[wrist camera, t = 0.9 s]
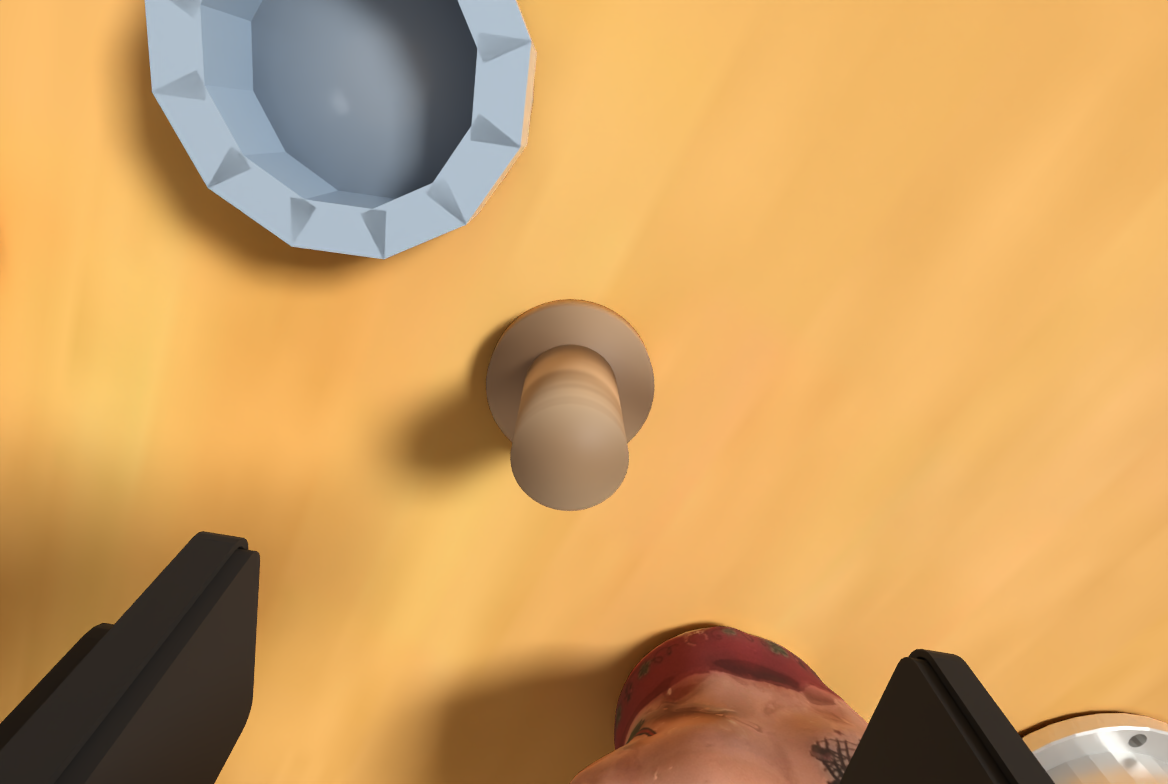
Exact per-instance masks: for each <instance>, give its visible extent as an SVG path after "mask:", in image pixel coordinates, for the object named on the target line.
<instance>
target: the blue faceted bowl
mask: <svg viewBox="0 0 1168 784" xmlns="http://www.w3.org/2000/svg"><path fill="white" fill-rule="evenodd" d="M145 10H146V22H147V35H148V48H149V60H150V73H151V85H152V93H153V95H154V96H155V98H156V100H157V102H158V103H159V105H160V107H161V108H162V110H163V112H164V114H165V115H166V117H167V119H168V120H169V122H170V124H171V126H172V127H173V129H174V131H175V132H176V134H177V136H178V138H179V139H180V141H181V143H182V144H183V146H184V148H185V150H186V151H187V153H188V155H189V156H190V158H191V160H192V162H193V163H194V165H195V167H196V169H197V170H198V172H199V174H200V175H201V177H202V179H203V181H204V182H205V184H206V186H207V188H209V189H210V190H212V191H213V192H214V193H216V194H217V195H219V196H220V197H222V198H223V199H224V200H226V201H227V202H229V203H230V204H232V205H233V206H234V207H236V208H237V209H239V210H240V211H242V212H243V213H244V214H246V215H247V216H249V217H250V218H252V219H253V220H254V221H256V222H257V223H259V224H260V225H262V226H263V227H264V228H266V229H267V230H269V231H270V232H272V233H273V234H274V235H276V236H277V237H279V238H280V239H282V240H283V241H284V242H286V243H287V244H289V245H290V246H291V247H299V248H306V249H313V250H320V251H328V252H335V253H342V254H350V255H357V256H364V257H371V258H379V259H386V258H388V257H390V256H393V255H395V254H397V253H400V252H402V251H405V250H407V249H409V248H412V247H414V246H416V245H419V244H421V243H423V242H426V241H428V240H431V239H433V238H435V237H438V236H440V235H442V234H445V233H447V232H450V231H452V230H454V229H457V228H459V227H461V226H464V225H466V224H467V223H469V222H470V221H471V220H472V219H473V218H474V217H475V216H476V215H478V214H479V213H480V211H481V210H482V208H483V207H484V205H485V204H486V203H487V201H488V200H489V198H490V197H491V196H492V194H493V193H494V191H495V190H496V189H497V187H498V186H499V185H500V184H501V182H502V181H503V180H504V179H505V177H506V176H507V174H508V172H509V171H510V169H511V167H512V166H513V165H514V163H515V162H516V160H517V159H518V157H519V156H520V155H521V153H522V152H523V150H524V149H525V148H526V146H527V143H528V134H529V124H530V118H531V112H532V106H533V98H534V77H535V67H536V58H537V51H536V49H535V46H534V44H533V41H532V39H531V36H530V33H529V31H528V28H527V26H526V23H525V20H524V18H523V15H522V12H521V10H520V7H519V5H518V2H517V0H145Z"/></svg>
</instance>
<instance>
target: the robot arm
mask: <svg viewBox="0 0 1168 784" xmlns="http://www.w3.org/2000/svg"><path fill="white" fill-rule="evenodd" d="M259 570H260V555H259V553H258V552H257V551H251V550H248V543H247V540H246V539H244V538H240V537H234V536H228V535H222V534H216V533H210V532H204V531H203V532H199V533H198V534H196V535H195V536H194V537H193V538H192V539H191V540H190V541H189V542H188V544H187V545H186V546H185V547H184V548H183V549H182V550H181V551H180V552H179V554H178V555H177V556H176V557H175V558H174V559H173V560H172V561H171V562H170V564H169V565H168V566H167V567H166V568H165V569H164V570H163V571H162V572H161V573H160V575H159V576H158V577H157V578H156V579H155V580H154V581H153V582H152V583H151V585H150V586H149V587H148V588H147V589H146V590H145V591H144V592H143V593H142V595H141V596H140V597H139V598H138V599H137V600H136V601H135V602H134V603H133V605H132V606H131V607H130V608H129V609H128V610H127V611H126V612H125V613H124V614H123V616H122V617H121V618H120V619H119V620H118V621H117V622H116V623H115V624H107V623H102V624H100V625H97V626H95V627H93V628H92V629H91V630H90V631H89V632H87V633H86V634H85V635H84V636H83V637H82V638H81V639H80V640H79V641H78V642H77V643H76V644H75V645H74V646H73V647H72V648H71V649H70V651H69V652H68V653H67V654H66V655H65V656H64V657H63V658H62V659H61V660H60V661H59V662H58V663H57V664H56V665H55V666H54V667H53V669H52V670H51V671H50V672H49V673H48V674H47V675H46V676H45V677H44V678H43V679H42V680H41V681H40V682H39V683H38V684H37V686H36V687H35V688H34V689H33V690H32V691H31V692H30V693H29V694H28V695H27V696H26V697H25V698H24V699H23V700H22V701H21V702H20V704H19V705H18V706H17V707H16V708H15V709H14V710H13V711H12V712H11V713H10V714H9V715H8V716H7V717H6V718H5V719H4V720H3V722H2V723H1V724H0V784H214V783H215V781H216V779H217V777H218V776H219V774H220V772H221V770H222V768H223V766H224V764H225V762H226V761H227V759H228V757H229V755H230V753H231V751H232V749H233V747H234V746H235V744H236V742H237V740H238V738H239V736H240V734H241V732H242V731H243V729H244V726H245V724H246V722H247V719H248V717H249V713H250V710H251V706H252V700H253V685H254V666H255V646H256V627H257V608H258V589H259ZM840 784H1168V724H1167V723H1165V722H1162V721H1159V720H1156V719H1153V718H1150V717H1147V716H1141V715H1134V714H1127V713H1099V714H1092V715H1086V716H1079V717H1074V718H1070V719H1067V720H1063V721H1060V722H1057V723H1053V724H1050V725H1048V726H1046V727H1043V728H1041V729H1039V730H1036V731H1034V732H1032V733H1029V734H1028V735H1026V736H1024V737H1023V738H1021V737H1020V735H1019V734H1018V733H1017V731H1016V730H1015V729H1014V727H1013V726H1012V725H1011V723H1010V722H1009V720H1008V719H1007V718H1006V716H1005V715H1004V714H1003V712H1002V711H1001V710H1000V708H999V707H998V706H997V704H996V703H995V701H994V700H993V699H992V697H991V696H990V695H989V693H988V692H987V691H986V689H985V688H984V687H983V685H982V684H981V683H980V681H979V680H978V678H977V677H976V676H975V674H974V673H973V672H972V670H971V669H970V668H969V666H968V665H967V664H966V662H965V661H964V660H963V659H962V658H961V657H959V656H957V655H954V654H948V653H942V652H936V651H930V650H924V649H916V650H915V651H913V652H912V653H911V654H910V655H909V657H904V658H903V659H901V660H900V662H899V663H898V665H897V667H896V669H895V671H894V673H893V675H892V677H891V679H890V681H889V683H888V685H887V687H886V689H885V691H884V693H883V695H882V697H881V699H880V701H879V703H878V705H877V707H876V709H875V711H874V713H873V715H872V718H871V720H870V722H869V724H868V726H867V728H866V730H865V732H864V734H863V736H862V738H861V740H860V742H859V744H858V746H857V748H856V750H855V752H854V754H853V756H852V758H851V760H850V762H849V764H848V766H847V768H846V770H845V772H844V774H843V776H842V778H841V781H840Z"/></svg>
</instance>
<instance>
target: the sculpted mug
mask: <svg viewBox="0 0 1168 784" xmlns="http://www.w3.org/2000/svg"><path fill="white" fill-rule="evenodd" d="M867 726H868V723H867V722H866V721H865V720H864V719H863V718H862V717H860V716H859V715H858V714H857V713H856V712H855V711H854V710H853V709H851V708H850V707H849V706H848V705H847V704H846V703H845V701H844V700H843V699H842V698H841V697H839V696H838V695H837V694H836V693H834V692H833V691H832V690H830V689H829V688H828V687H827V686H826V685H825V684H824V683H823V682H822V681H821V680H820V678H819V677H818V676H817V675H816V673H815V672H814V671H813V670H812V669H811V668H810V667H809V666H808V665H807V664H806V663H805V662H804V661H802V660H801V659H800V658H799V657H797V656H796V655H794V654H793V653H792V652H790V651H789V650H787V649H786V648H784V647H783V646H781V645H779V644H777V643H775V642H772V641H770V640H767V639H764V638H761V637H757V636H754V635H750V634H747V633H744V632H742V631H740V630H737V629H735V628H731V627H724V626H716V627H709V628H702V629H697V630H692V631H689V632H685V633H683V634H680V635H678V636H676V637H674V638H671V639H669V640H667V641H665V642H663V643H662V644H660V645H659V646H657V647H656V648H655V649H653V650H652V651H651V652H649V653H648V654H647V655H646V656H645V657H644V658H643V659H642V660H641V661H640V662H639V663H638V664H637V665H636V666H635V668H634V669H633V670H632V672H631V673H630V675H629V677H628V679H627V681H626V682H625V685H624V687H623V689H622V691H621V694H620V697H619V700H618V704H617V709H616V715H615V727H614V743H615V751H613V752H611V753H609V754H607V755H605V756H604V757H602V758H600V759H599V760H597V761H595V762H594V763H592V764H590V765H589V766H587V767H586V768H585V769H583V770H582V771H580V772H579V773H578V774H577V775H576V776H575V777H574V778H573V780H572V781H571V782H570V784H840V781H841V778H842V776H843V774H844V772H845V770H846V768H847V766H848V764H849V762H850V760H851V758H852V756H853V754H854V752H855V750H856V748H857V746H858V744H859V742H860V740H861V738H862V736H863V734H864V732H865V730H866V728H867Z"/></svg>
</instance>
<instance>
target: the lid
mask: <svg viewBox="0 0 1168 784" xmlns="http://www.w3.org/2000/svg"><path fill="white" fill-rule="evenodd" d="M486 392H487V400H488V403H489V407H490V410H491V413H492V415H493V418H494V420H495V421H496V423H497V425H498V426H499V428H500V429H501V431H502V432H503V433H504V434H505V436H506V437H507V438H508V439H509V440H510V441H511V442H512V448H511V457H510V460H511V468H512V472H513V474H514V477H515V479H516V481H517V483H518V484H519V486H520V487H521V489H522V490H523V491H524V492H525V493H526V494H527V495H528V496H529V497H531V498H532V499H533V500H535V501H536V502H538V503H540V504H542V505H544V506H546V507H549V508H553V509H557V510H564V511H576V510H582V509H587V508H590V507H593V506H595V505H598V504H600V503H601V502H603V501H605V500H606V499H607V498H609V497H610V496H611V495H612V494H613V493H614V492H615V491H616V490H617V489H618V488H619V486H620V485H621V483H622V481H623V480H624V478H625V475H626V473H627V469H628V463H629V452H628V446H627V443H628V442H629V441H630V440H631V439H632V438H633V437H634V436H635V435H636V434H637V433H638V431H639V430H640V429H641V427H642V426H643V424H644V422H645V421H646V419H647V417H648V414H649V412H650V409H651V406H652V402H653V396H654V375H653V369H652V366H651V362H650V359H649V356H648V353H647V350H646V348H645V346H644V343H643V341H642V340H641V338H640V336H639V335H638V333H637V332H636V331H635V329H634V328H633V327H632V326H631V325H630V324H629V323H628V322H627V321H626V320H625V319H624V318H623V317H621V316H620V315H618V314H617V313H615V312H614V311H612V310H610V309H608V308H606V307H604V306H602V305H599V304H596V303H593V302H589V301H584V300H573V299H568V300H557V301H552V302H548V303H544V304H541V305H538V306H536V307H534V308H532V309H530V310H528V311H527V312H525V313H524V314H522V315H521V316H519V317H518V318H517V319H516V320H515V321H513V322H512V323H511V324H510V325H509V327H508V328H507V329H506V330H505V331H504V333H503V334H502V336H501V337H500V339H499V341H498V343H497V345H496V347H495V349H494V352H493V355H492V357H491V360H490V364H489V367H488V372H487V378H486Z"/></svg>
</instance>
